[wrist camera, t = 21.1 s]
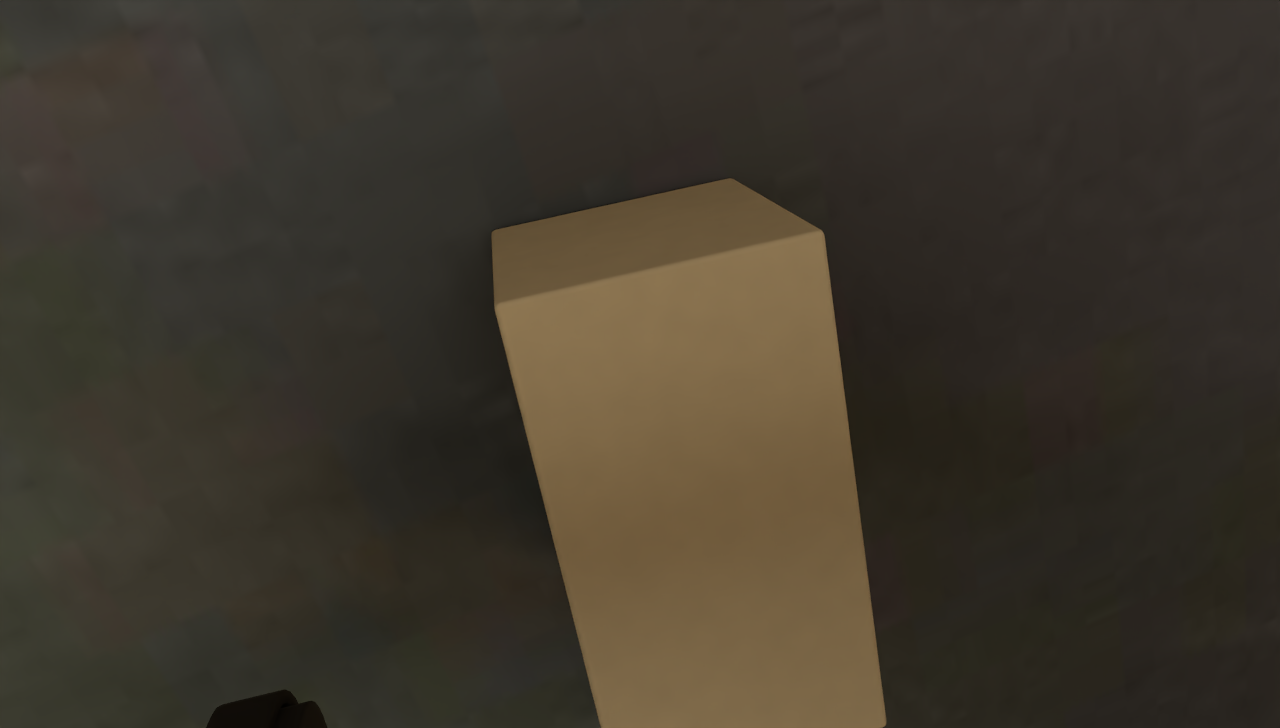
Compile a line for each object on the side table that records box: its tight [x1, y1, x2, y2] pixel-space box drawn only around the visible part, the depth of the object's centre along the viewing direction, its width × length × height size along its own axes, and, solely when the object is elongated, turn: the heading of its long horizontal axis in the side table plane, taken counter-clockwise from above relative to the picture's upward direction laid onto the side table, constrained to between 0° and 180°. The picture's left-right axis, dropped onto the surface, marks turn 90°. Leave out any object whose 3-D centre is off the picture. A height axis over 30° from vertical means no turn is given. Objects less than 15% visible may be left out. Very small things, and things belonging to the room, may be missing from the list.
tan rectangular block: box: [491, 178, 886, 728], centre depth 13 cm, size 6×4×4 cm, turn 11°
